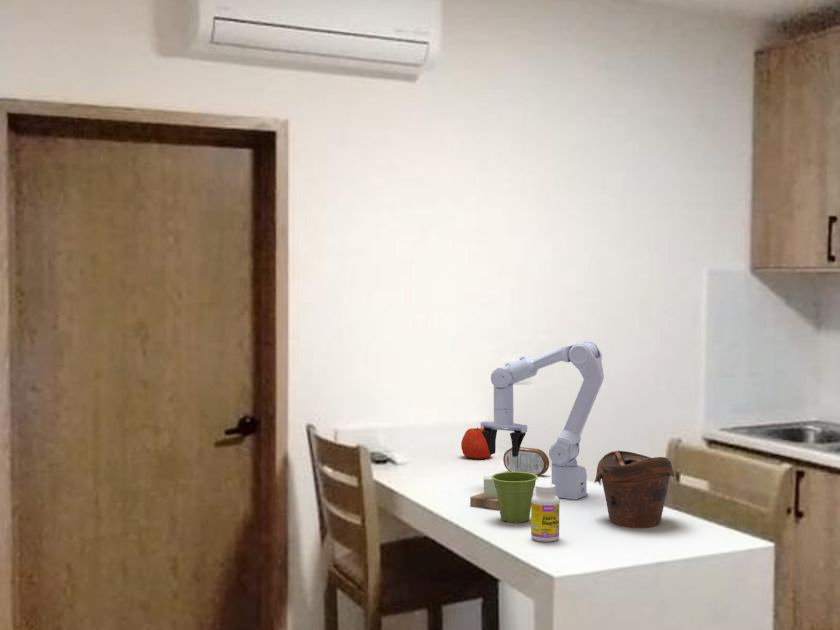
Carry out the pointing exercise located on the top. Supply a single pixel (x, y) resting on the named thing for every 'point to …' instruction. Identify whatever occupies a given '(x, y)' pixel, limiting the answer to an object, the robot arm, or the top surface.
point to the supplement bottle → (545, 513)
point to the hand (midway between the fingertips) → (503, 455)
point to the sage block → (489, 487)
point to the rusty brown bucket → (634, 487)
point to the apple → (475, 444)
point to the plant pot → (514, 495)
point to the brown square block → (484, 502)
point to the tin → (527, 461)
